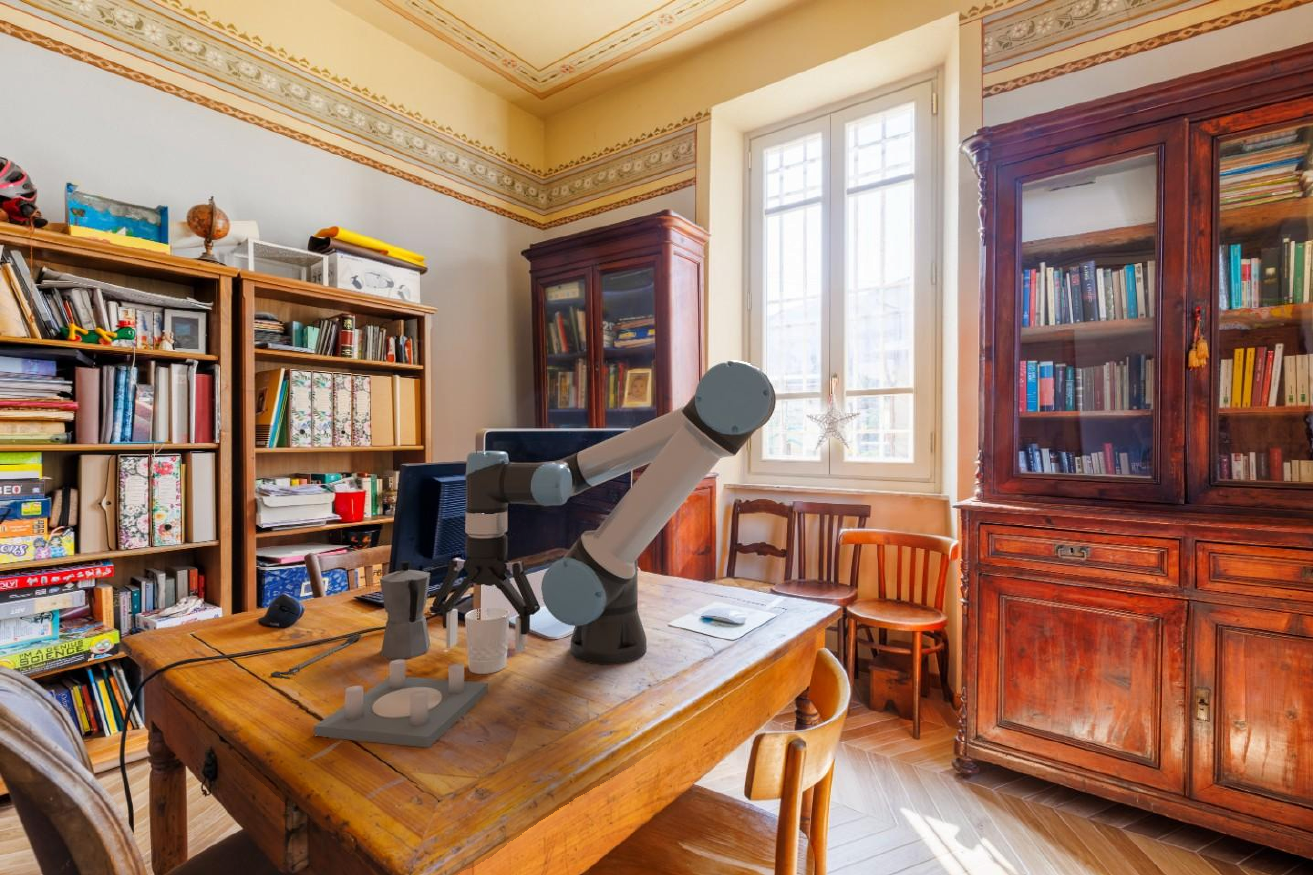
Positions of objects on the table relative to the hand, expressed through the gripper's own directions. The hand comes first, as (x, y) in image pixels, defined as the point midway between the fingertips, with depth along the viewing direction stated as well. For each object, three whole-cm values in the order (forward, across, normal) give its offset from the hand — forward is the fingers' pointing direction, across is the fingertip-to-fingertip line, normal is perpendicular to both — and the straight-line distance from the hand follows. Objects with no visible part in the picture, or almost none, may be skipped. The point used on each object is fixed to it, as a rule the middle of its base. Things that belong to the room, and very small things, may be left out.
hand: (485, 648), depth 111 cm
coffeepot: (+4, +19, -4) cm, 19 cm away
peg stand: (+3, +4, +19) cm, 20 cm away
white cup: (+4, 0, 0) cm, 4 cm away
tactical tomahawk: (+5, +33, +1) cm, 33 cm away
